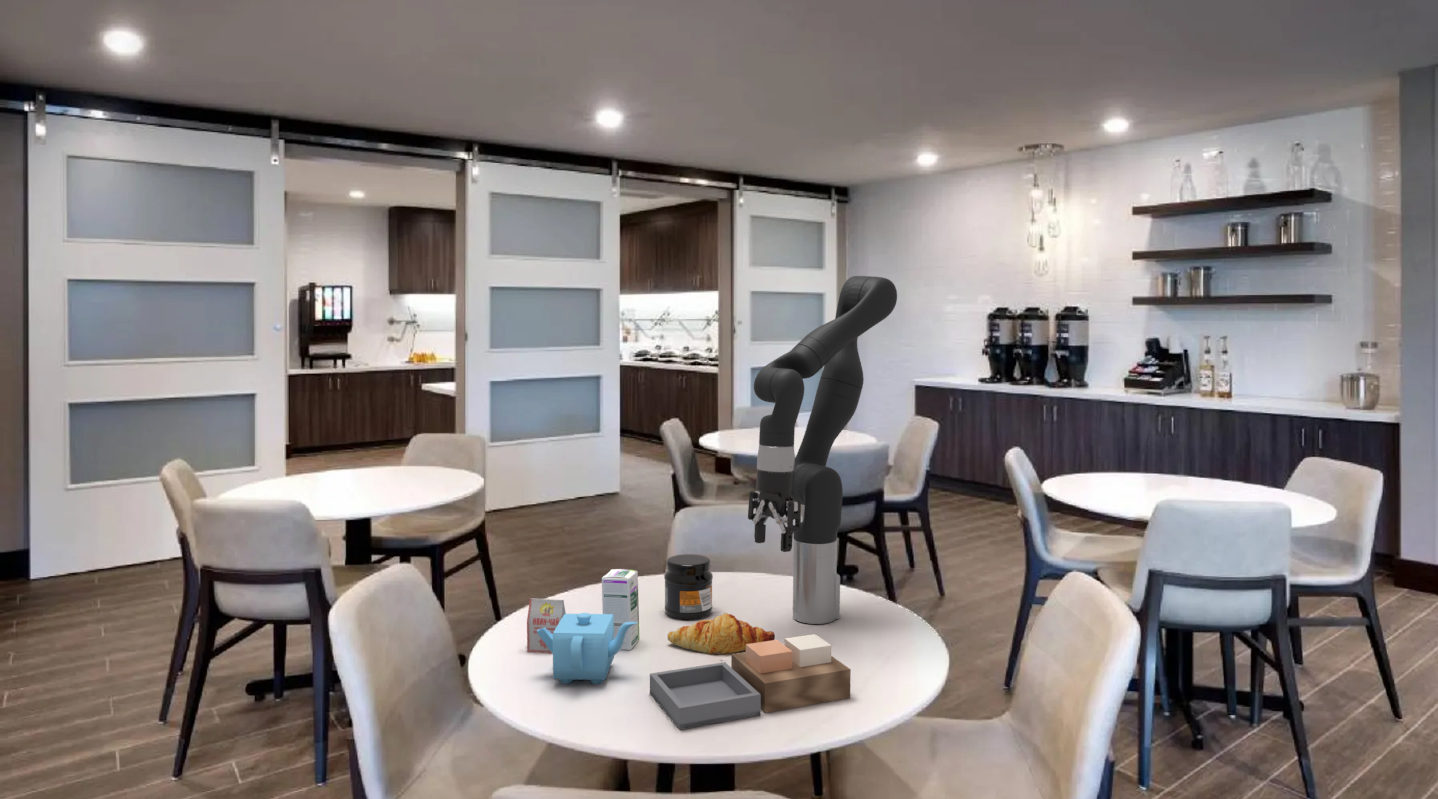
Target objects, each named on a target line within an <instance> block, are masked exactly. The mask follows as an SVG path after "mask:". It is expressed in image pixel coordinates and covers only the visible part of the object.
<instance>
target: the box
mask: <svg viewBox="0 0 1438 799" xmlns="http://www.w3.org/2000/svg"><path fill="white" fill-rule="evenodd" d="M649 695H651V697H652V698H653V700H654V701H655V702H656V703H657V704H658V706H659V707H660V708H661V709H662V711H663V712H664V713H665V714H666V716H667V717H668V718H669V719H670V720H671V722H672V723H673V724H674V725H675V726H676V728H678V730H680V731H682V730H686V729H691V728H698V727H703V726H708V725H715V724H719V723H724V722H731V721H736V720H741V719H748V718H754V717H758V716H761V714H762V713H761V711H762V710H761V694H760V693H759V692H757V691H756V690H755V689H754V688H753V687H752V686H751V685H750V684H749V683H748V682H746V681H745V680H744V679H743V678H742V677H741V676H740V675H739V674H738V673H737V672H735V671H734V670H733V669H732V668H731V665H730V664H728V663H727V662H726V661H724V662H716V663H711V664H704V665H698V666H691V667H685V668H678V669H670V670H666V671H665V670H664V671H658V672H651V673H649Z"/></svg>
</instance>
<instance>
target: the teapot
mask: <svg viewBox="0 0 1438 799" xmlns="http://www.w3.org/2000/svg"><path fill="white" fill-rule="evenodd" d="M636 623H637V622H625V623H623V624H622V625H621V627H620V628H619V631H618V634H617V636H616V638H615V639H614V615H613V614H603V613H588V612H581V613H566V614H564V616H563V618H562V619H561V621H560V622H559V624H558V626H557V627H556V629H555V631H554V632H553V634H552V633H551V632H550V631H548V630H547V629H546V627H545V628H541V629H538V630H537V633H538V635H539V636H540V637H541V639H542V640H543V641H544V643H545V644H546V645H547V647H548V648H549V650H550V651H551V652H552V653H551V654H552V680H559V683H560V684H562V685H567V684H572V683H573V681H574V680H577V681H578V680H579V681H581V680H582V681H583V680H585V681H590V683H591V685H592V684H593V685H600V684H603V683H604V681H605V680H606V679H607V677H608V674H609V670H611V666H612V663H613V661H614V658H615V655H617V654H618V652H619V651H620V648H621V646H622V643H623V640H624V636H625V634H626V631H627V630H628V629H629V628H630V627H631V626H632V625H634V624H636Z"/></svg>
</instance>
